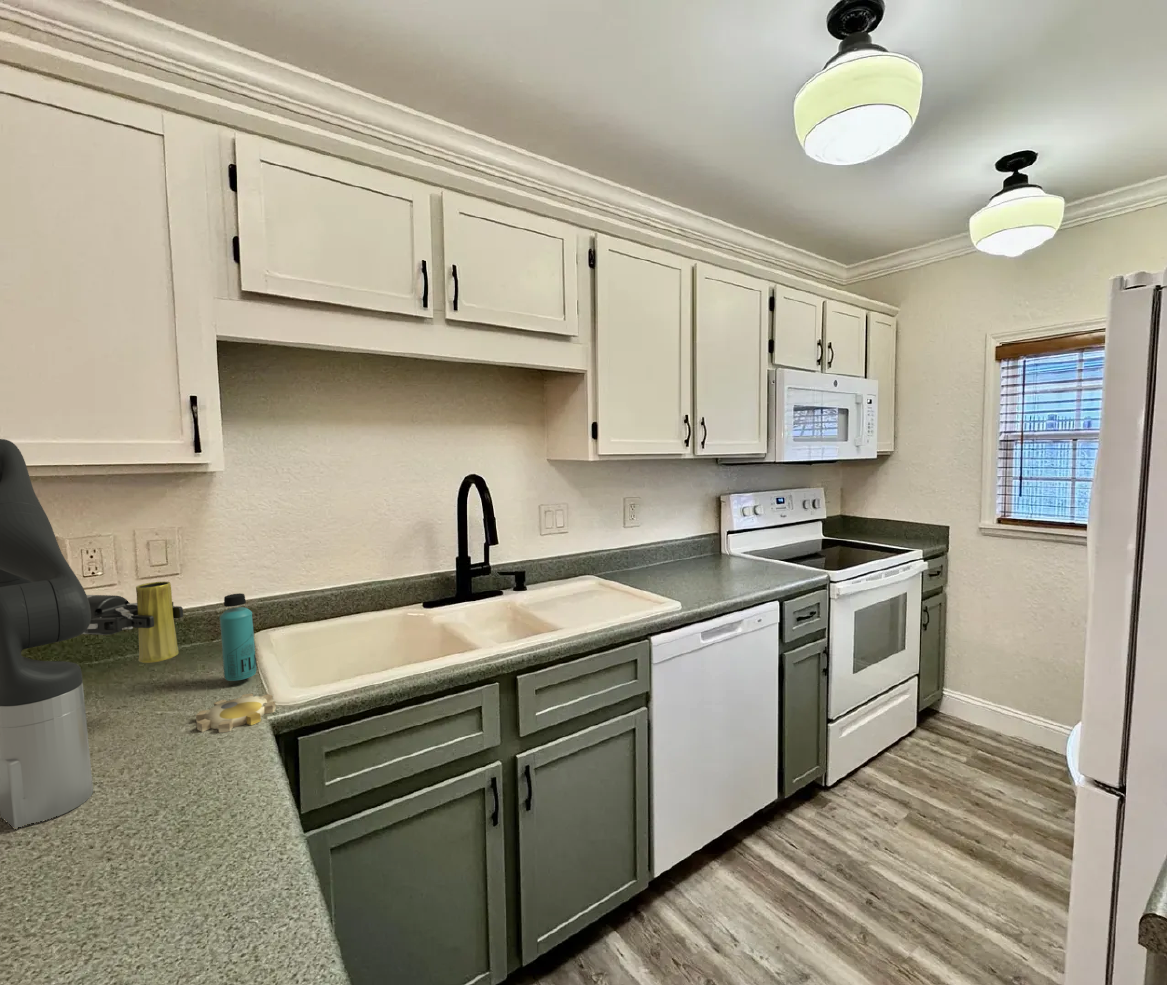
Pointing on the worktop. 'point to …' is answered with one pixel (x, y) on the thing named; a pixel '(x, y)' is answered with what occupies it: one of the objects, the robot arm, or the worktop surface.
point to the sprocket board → (235, 712)
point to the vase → (156, 622)
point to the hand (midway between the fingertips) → (167, 617)
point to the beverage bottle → (237, 640)
